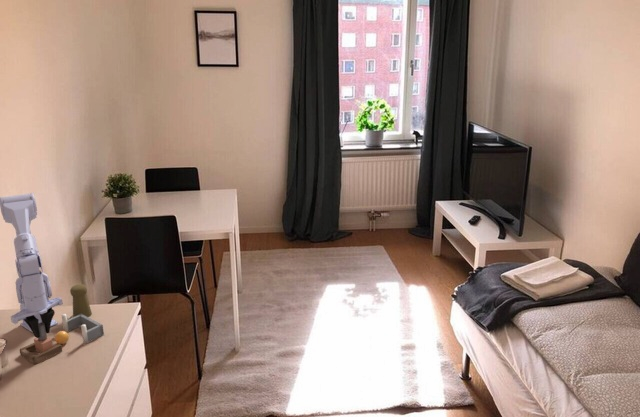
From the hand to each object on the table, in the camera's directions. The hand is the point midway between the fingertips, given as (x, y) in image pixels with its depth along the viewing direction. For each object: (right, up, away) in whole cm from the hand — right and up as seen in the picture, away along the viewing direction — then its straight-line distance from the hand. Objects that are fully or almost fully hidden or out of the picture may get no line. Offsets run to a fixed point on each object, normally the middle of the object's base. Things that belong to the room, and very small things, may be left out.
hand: (41, 334), depth 164 cm
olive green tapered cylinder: (+2, +1, +23) cm, 23 cm away
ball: (+3, -2, +6) cm, 7 cm away
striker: (0, -6, +2) cm, 6 cm away
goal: (+8, -2, +12) cm, 14 cm away
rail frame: (0, -6, +1) cm, 6 cm away
